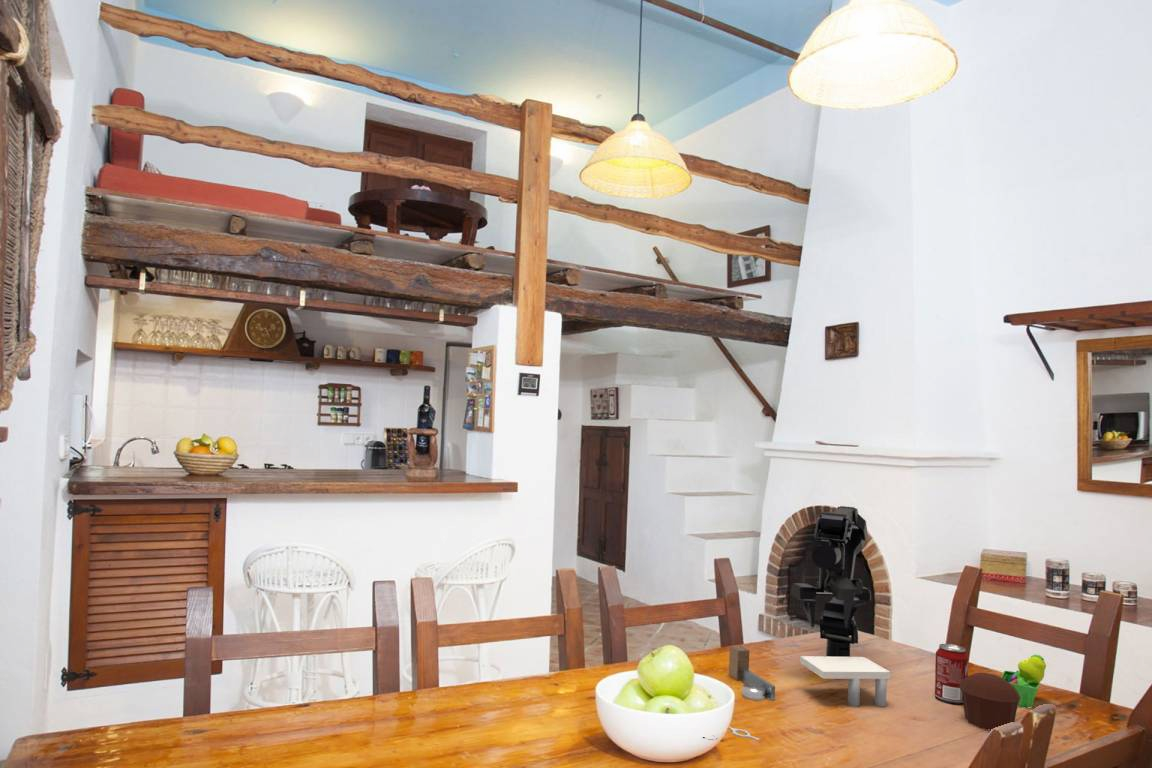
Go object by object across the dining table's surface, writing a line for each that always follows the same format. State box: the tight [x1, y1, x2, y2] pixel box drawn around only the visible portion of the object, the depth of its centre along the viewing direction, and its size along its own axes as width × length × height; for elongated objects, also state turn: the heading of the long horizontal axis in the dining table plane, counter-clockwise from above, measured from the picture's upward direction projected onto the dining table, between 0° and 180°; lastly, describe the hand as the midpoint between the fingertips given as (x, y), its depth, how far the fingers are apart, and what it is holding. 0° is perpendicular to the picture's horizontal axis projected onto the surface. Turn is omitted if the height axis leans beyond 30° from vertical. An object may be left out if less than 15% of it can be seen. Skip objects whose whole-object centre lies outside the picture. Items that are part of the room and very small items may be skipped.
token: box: [741, 684, 766, 701], centre depth 171 cm, size 5×5×2 cm
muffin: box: [959, 672, 1021, 731], centre depth 163 cm, size 12×11×10 cm
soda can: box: [934, 643, 969, 705], centre depth 177 cm, size 7×7×12 cm
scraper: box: [728, 645, 776, 701], centre depth 177 cm, size 17×3×7 cm, turn 18°
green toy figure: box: [1000, 653, 1047, 708], centre depth 179 cm, size 11×9×11 cm
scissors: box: [728, 726, 761, 742], centre depth 154 cm, size 11×1×20 cm
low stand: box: [799, 655, 891, 708], centre depth 174 cm, size 11×16×8 cm
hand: (829, 627), depth 189 cm, fingers open, 9 cm apart
